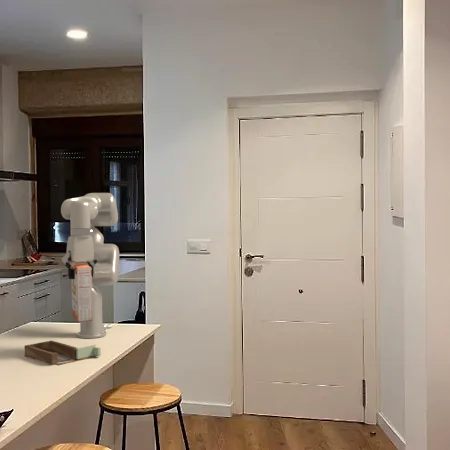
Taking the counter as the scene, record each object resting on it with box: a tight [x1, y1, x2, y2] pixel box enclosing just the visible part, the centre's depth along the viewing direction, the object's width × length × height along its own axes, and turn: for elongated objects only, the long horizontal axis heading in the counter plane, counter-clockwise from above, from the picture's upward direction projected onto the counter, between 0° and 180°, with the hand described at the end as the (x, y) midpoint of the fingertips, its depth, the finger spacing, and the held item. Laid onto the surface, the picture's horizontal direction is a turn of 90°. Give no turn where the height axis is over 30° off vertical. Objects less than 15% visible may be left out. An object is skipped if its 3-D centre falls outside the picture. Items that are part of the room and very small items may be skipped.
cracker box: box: [71, 263, 92, 323], centre depth 223 cm, size 14×6×21 cm, turn 24°
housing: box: [24, 340, 98, 366], centre depth 215 cm, size 18×21×4 cm
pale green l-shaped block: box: [76, 344, 101, 359], centre depth 211 cm, size 8×4×4 cm, turn 138°
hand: (81, 277), depth 223 cm, fingers closed on cracker box, 7 cm apart
